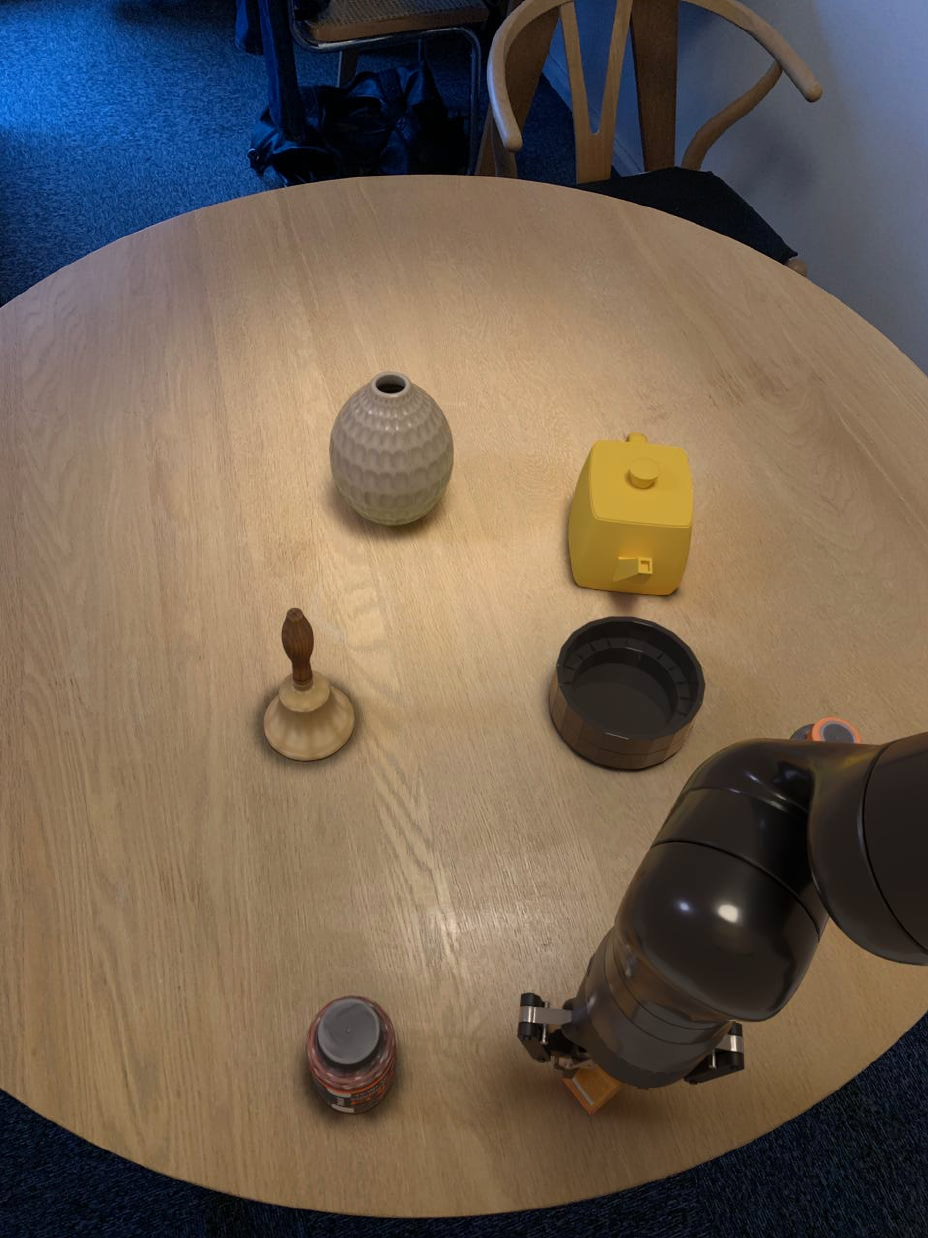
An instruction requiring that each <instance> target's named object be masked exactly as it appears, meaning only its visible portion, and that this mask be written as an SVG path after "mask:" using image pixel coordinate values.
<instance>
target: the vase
mask: <svg viewBox="0 0 928 1238" xmlns="http://www.w3.org/2000/svg"><path fill="white" fill-rule="evenodd" d="M334 419H335V420H334V422H333V424H332V425H333V426H332V427H331V432H330V437H329V446H328V454H329V465H330V471H331V475H332V478H333V481H334V483H335V485H336V487H337V490H338V492H339V493H340V495H341V497H342V498H343V499H344V501H346V503H347V504H348V505H349V506H350V507H351V508H352V509H353V510H354V511H355V512H356V513H358V514H359V515H360V516H361V517H363V518H364V519H367V520H368V521H369V522H373V523H376V524H379V525H383V526H387V527H397V526H403V525H407V524H410V523H413V522H415V521H417V520H419V519H421V518H423V517H424V516H425V515H426V514H427V513H428V512H430V511H431V510H432V509H433V508H434V507H435V506H436V505H437V503H438V502H439V501H440V499H441V498H442V497H443V495H444V494H445V492H446V490H447V488H448V485H449V483H450V481H451V477H452V473H453V468H454V461H455V460H454V458H455V457H454V456H455V446H454V438H453V437H454V436H453V434H452V430H451V427H450V424H449V422H448V419H447V417H446V415H445V413H444V411H443V409H442V408H441V407H440V405H439V404H438V402H437V401H436V400H435V398H433V396H431V394H429V393H428V392H427V391H426V390H424V389H423V388H421V386H419V385H418V384H416V383H414V382H412V381H411V379H410V378H409V377H408V376H407V375H406V374H404V373H401V372H398V371H383V372H380V373H377V374H375V376H373V377H372V379H371V380H370V381H369V382H367V383H366V384H364V385H362V386H361V387H359V388H358V389H356V391H354V392H353V393H352V394H351V395H350V397H348V398H347V399H346V400H345V402H344V404H343V405H342V407H341V409H340V410H339V411H338V413H337V416H336V417H335V418H334Z"/></svg>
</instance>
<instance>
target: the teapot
mask: <svg viewBox="0 0 928 1238" xmlns="http://www.w3.org/2000/svg"><path fill="white" fill-rule="evenodd" d="M693 490H694V487H693V481H692V474H691V467H690V463H689V459H688V455H687V453H686V451H685V450H684V449H683V448H681V447H677V446H672V445H671V446H670V445H663V444H654V443H648V437H647V436H646V435H645V434H644V433H641V432H630V433H629V434H627V436H626V439H625V441H622V440H605V439H598V440H596V441H594V443H592V446H591V448H590V450H589V452H588V455H587V457H586V459H585V461H584V464H583V466H582V467H581V470H580V473H579V476H578V479H577V482H576V486H575V489H574V493H573V498H572V500H571V505H570V511H569V518H568V549H569V558H570V564H571V571H572V576H573V579H574V582H575V583H576V585H578V587H583V588H587V589H591V590H592V589H593V590H600V591H608V592H610V591H611V592H618V593H627V594H639V595H651V596H667V595H668V596H670V595H671V594H673V592H674V591H675V590H676V589H677V588H678V587H679V585H680V584H681V582H682V580H683V578H684V574H685V571H686V567H687V564H688V560H689V555H690V549H691V541H692V533H693V521H694V491H693Z"/></svg>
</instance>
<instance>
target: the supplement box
mask: <svg viewBox="0 0 928 1238" xmlns="http://www.w3.org/2000/svg"><path fill="white" fill-rule="evenodd" d="M561 1079H562V1080H563V1082H564V1083H565V1085H566V1086H567V1088H569V1090H570V1091H571V1092H572V1094H573V1096H575V1097H576V1099H577V1100H578V1101H579V1103H580V1104H581V1106H582V1107H583V1108H584V1109H585V1110H586V1112H587V1113H588V1114H589V1115H592V1114H594V1113H595V1112H596V1111H598V1110H599V1109H600V1108H601V1107H602V1106H604V1104H606V1103H607V1102H608V1101H609V1100H611V1099H612V1098H613V1097H614V1096H615V1095H616V1094H617V1093H618V1092H619V1091H620V1090H621V1089H622V1088H623V1087H624V1086H625V1085H626V1084H624V1083H622V1082H620V1081H618V1080H616V1079H614V1078H613V1077H611V1076H610V1075H608V1074H607V1073H606V1072H605V1071H603V1070H602V1069H601V1068H600V1067H599V1068H596V1069H594V1070H589V1069H584V1068H580V1067H579V1069H578V1071H577V1073H576V1074H575V1076H574V1078H573V1079H567V1078H562V1077H561Z"/></svg>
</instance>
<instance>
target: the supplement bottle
mask: <svg viewBox="0 0 928 1238" xmlns="http://www.w3.org/2000/svg"><path fill="white" fill-rule="evenodd" d="M395 1032H396V1031H395V1027H394V1025H393V1023H392V1020H391V1018H390V1016H389V1014H388V1013H387V1011H385V1009H384V1008H383V1007H382V1006H381V1005H380V1004H378V1003H377V1002H376V1001H374V1000H372V999H370V998H368V997H365V996H362V995H357V994H354V995H344V996H340V997H338V998H335V999H332V1000H331V1001H329V1002H327V1003H326V1004H325V1005H324V1006H323V1007H322V1008H320V1009H319V1010H318V1012H317V1013H316V1014H315V1015H314V1017H313V1019H312V1021H311V1022H310V1024H309V1027H308V1031H307V1033H306V1040H305V1054H306V1060H307V1065H308V1067H309V1070H310V1074H311V1076H312V1079H313V1082H314V1085H315V1088H316V1090H317V1092H318V1094H319V1096H320V1097H321V1098H322V1101H323V1102H325V1104H327V1105H328V1106H329V1107H330V1108H332V1109H334V1110H336V1111H338V1112H341V1113H345V1114H352V1115H353V1114H361V1113H364V1112H367V1111H370V1110H371V1109H373V1108H374V1107H376V1106H377V1105H378V1104H380V1103H381V1102H382V1101H383V1100H384V1099H385V1097H386V1096H387V1095H388V1093H389V1092H390V1090H391V1087H392V1086H393V1083H394V1080H395V1076H396V1072H397V1071H396V1068H397V1059H398V1057H397V1045H396V1041H397V1040H396V1034H395Z"/></svg>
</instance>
